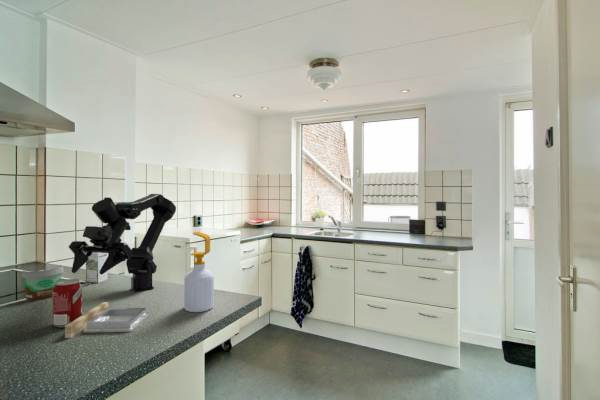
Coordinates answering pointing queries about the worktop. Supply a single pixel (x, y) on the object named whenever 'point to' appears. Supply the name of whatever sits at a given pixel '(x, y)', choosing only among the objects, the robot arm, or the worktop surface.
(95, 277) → the syrup box
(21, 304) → the worktop surface
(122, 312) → the tray
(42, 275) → the food container
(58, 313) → the soda can
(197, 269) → the soap bottle
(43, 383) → the worktop surface
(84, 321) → the oak threshold
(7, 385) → the worktop surface
